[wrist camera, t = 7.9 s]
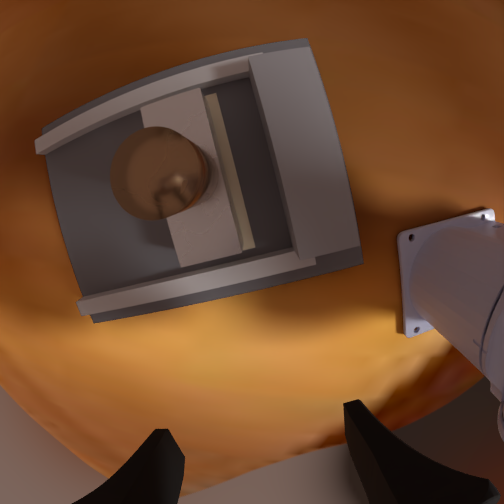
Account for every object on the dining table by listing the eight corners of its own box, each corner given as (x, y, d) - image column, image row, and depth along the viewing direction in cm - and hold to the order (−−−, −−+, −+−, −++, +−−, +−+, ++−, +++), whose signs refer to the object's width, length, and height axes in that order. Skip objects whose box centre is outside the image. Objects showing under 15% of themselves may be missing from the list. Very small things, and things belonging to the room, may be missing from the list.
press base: (303, 47, 15) (316, 14, 11) (355, 257, 18) (383, 279, 14) (53, 130, 17) (14, 123, 12) (102, 314, 20) (72, 343, 15)
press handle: (207, 101, 15) (172, 41, 7) (243, 242, 16) (235, 290, 9) (156, 117, 15) (89, 76, 7) (191, 255, 16) (146, 309, 9)
